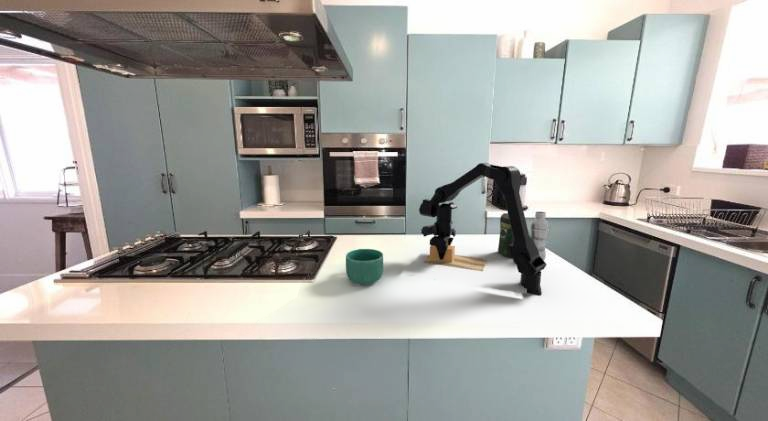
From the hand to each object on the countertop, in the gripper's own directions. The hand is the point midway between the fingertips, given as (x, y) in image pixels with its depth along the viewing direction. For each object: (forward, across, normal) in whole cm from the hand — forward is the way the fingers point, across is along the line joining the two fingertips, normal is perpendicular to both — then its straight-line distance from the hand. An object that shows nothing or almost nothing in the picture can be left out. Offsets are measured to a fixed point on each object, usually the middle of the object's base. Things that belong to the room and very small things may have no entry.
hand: (442, 257), depth 121 cm
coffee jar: (+2, -17, +24) cm, 30 cm away
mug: (+2, +27, -21) cm, 34 cm away
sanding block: (0, 0, 0) cm, 0 cm away
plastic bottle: (+2, -17, +34) cm, 38 cm away
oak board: (+2, 0, +5) cm, 5 cm away
